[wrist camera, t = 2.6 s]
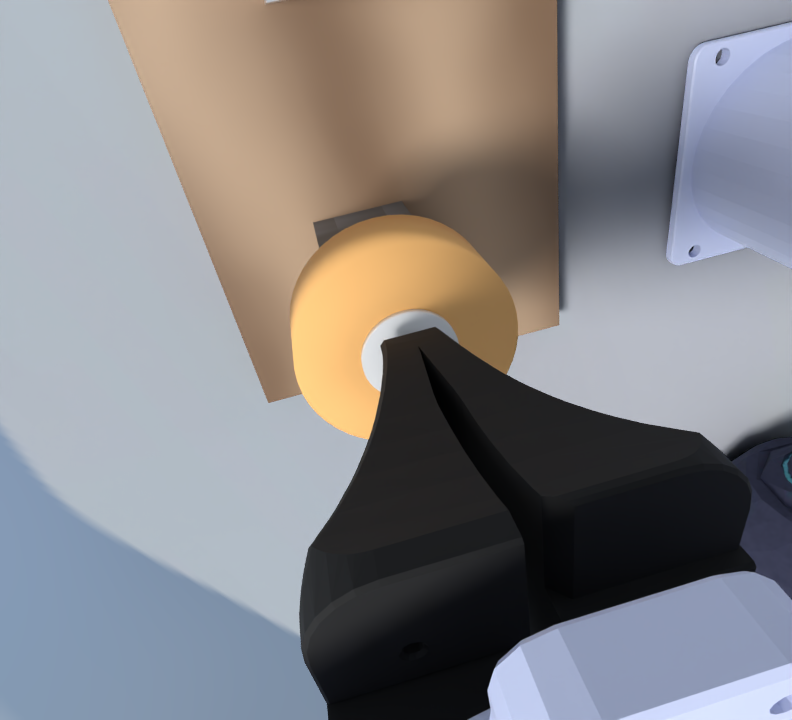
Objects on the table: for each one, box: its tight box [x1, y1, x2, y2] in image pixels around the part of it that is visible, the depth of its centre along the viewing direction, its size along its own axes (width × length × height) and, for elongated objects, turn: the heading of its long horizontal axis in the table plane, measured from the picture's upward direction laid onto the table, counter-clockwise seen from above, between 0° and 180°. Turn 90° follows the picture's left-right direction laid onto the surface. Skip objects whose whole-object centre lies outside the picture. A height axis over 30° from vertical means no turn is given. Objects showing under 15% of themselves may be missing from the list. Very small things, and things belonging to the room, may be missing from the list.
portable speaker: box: [731, 437, 792, 600], centre depth 32 cm, size 25×10×10 cm, turn 177°
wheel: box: [290, 215, 518, 439], centre depth 15 cm, size 6×6×5 cm
